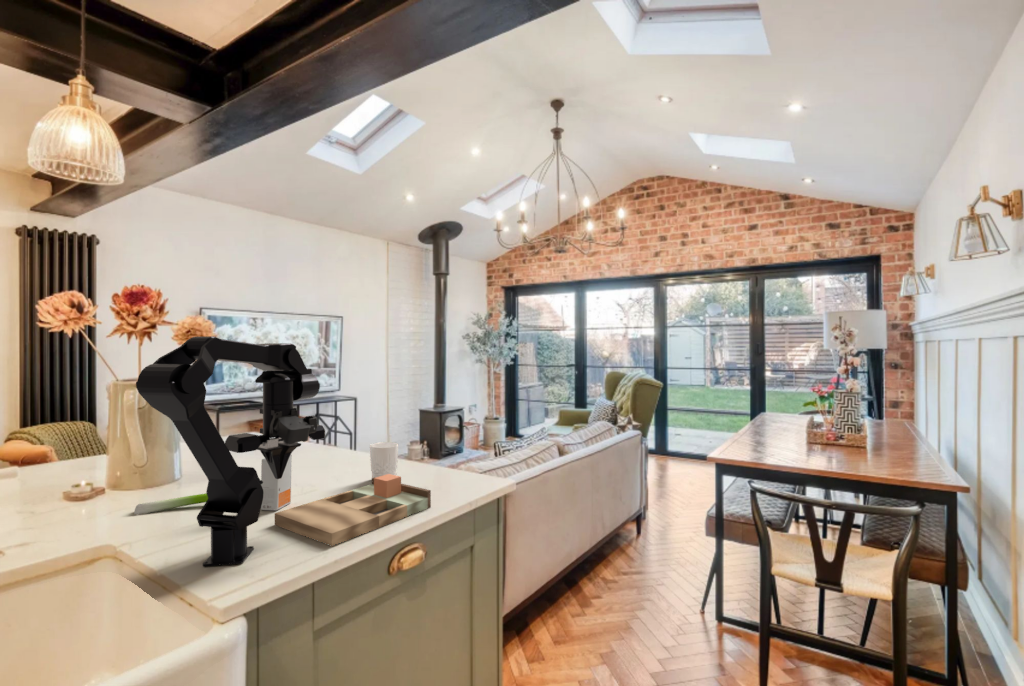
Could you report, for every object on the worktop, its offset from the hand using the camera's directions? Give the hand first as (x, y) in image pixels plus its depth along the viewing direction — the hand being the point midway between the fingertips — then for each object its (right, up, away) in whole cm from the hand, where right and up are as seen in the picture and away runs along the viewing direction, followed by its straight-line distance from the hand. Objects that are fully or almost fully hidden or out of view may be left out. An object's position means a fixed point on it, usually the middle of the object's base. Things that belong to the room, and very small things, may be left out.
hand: (278, 478), depth 102 cm
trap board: (+14, -11, +9) cm, 20 cm away
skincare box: (-8, -11, +15) cm, 20 cm away
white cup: (+12, -11, +38) cm, 41 cm away
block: (+18, -8, +17) cm, 26 cm away
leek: (-24, -12, +16) cm, 31 cm away
